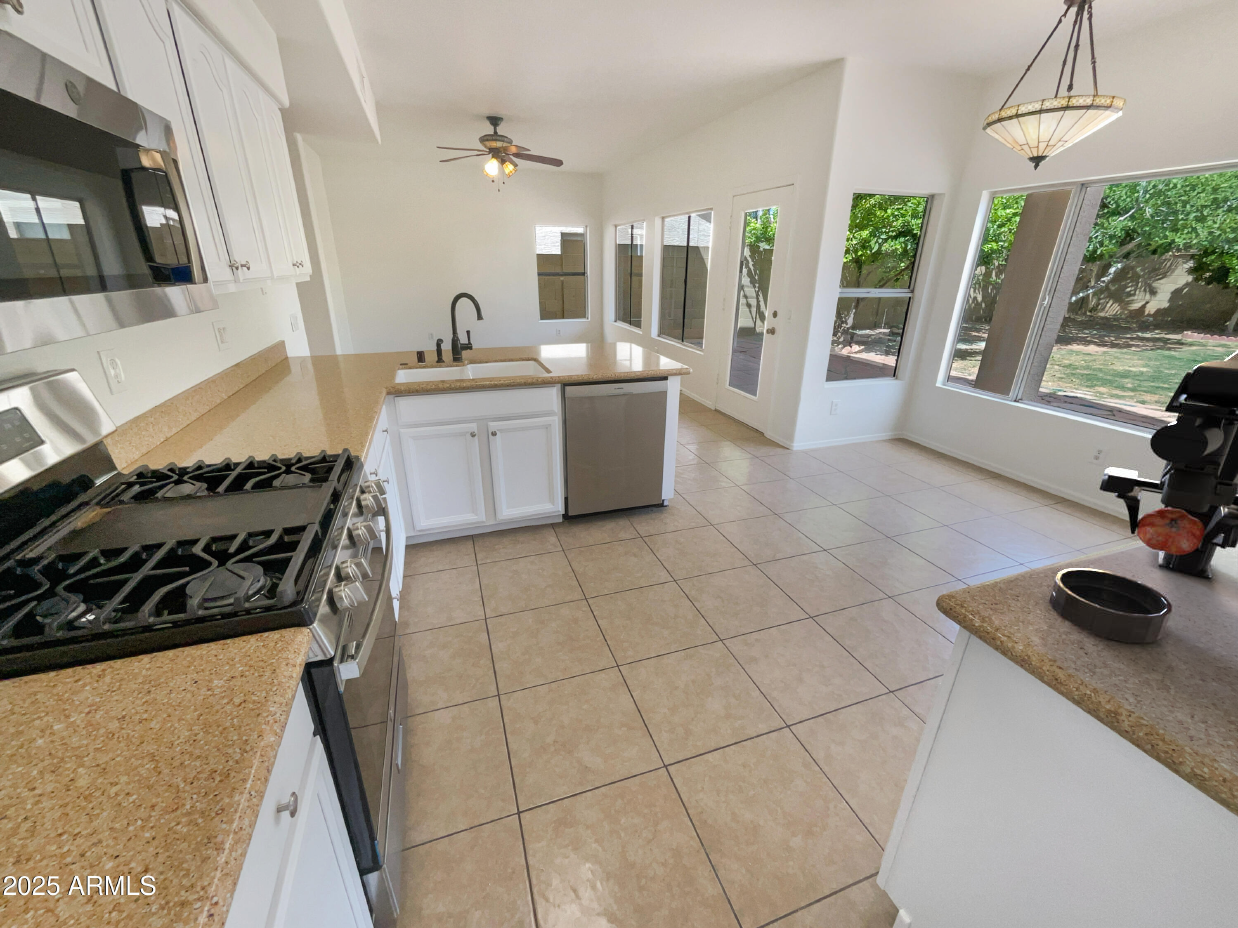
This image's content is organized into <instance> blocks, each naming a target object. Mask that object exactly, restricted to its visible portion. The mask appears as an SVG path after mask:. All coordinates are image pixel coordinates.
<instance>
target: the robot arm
mask: <svg viewBox="0 0 1238 928" xmlns="http://www.w3.org/2000/svg"><path fill="white" fill-rule="evenodd" d="M1183 401H1184V402H1183ZM1164 412H1165V413H1166V412H1167V413H1174V414H1177V417H1176V419H1175V421H1174V422H1171V423H1169V424H1166V425H1164V426H1162V427H1160V428H1158V429H1157V430H1156V431H1155V432H1154V433H1153V434H1152V435H1151V437H1150V442H1149V444H1150V449H1151V451H1152V453H1154V455H1156V457H1158V458H1160V459H1161V460H1162V461H1165V464H1164V467H1163V469H1162V473H1161V476H1160V479H1159V480H1153V479H1147V478H1141V477H1138V475H1139V471H1137V470H1131V469H1125V468H1119V467H1112V466H1111V467H1109V468H1108V467H1107V468H1106V469H1105V470H1104V473H1103V476H1102V479H1101V483H1100V486H1099V490H1100V491H1102V492H1105V493H1109V494H1110V493H1111V494H1115V495H1114V497H1115V498H1116V499H1119V500H1123V503H1124V504H1125V507H1126V510H1127V514H1128V519H1129V520H1128V521H1129V529H1130V534H1131V535H1136V533H1137V532H1136V531H1137V530H1138V529H1137V524H1138V520H1139V516H1140V515H1139V514H1140V508H1141V507H1140V505H1141V499H1142V492H1148V493H1153V494H1159V495H1161V497H1160V503H1161V504H1162V505H1163V508H1170V507H1171V508H1175V509H1181V510H1183V511H1185V512H1186V513H1187V514H1188V515H1190V516H1191V517H1193V518H1196V519H1198V520H1199V521H1200V522H1202V524H1203V525H1204V527H1205V534H1204V537H1203V538H1202V541H1201V543H1200V545H1199V546H1198V547H1197V548H1196V549H1195V550H1193V551H1192V552H1190V553H1187V554H1182V555H1174V554H1170V553H1166V552H1163V551H1159V552H1158V561H1157V566H1158V567H1160V568H1163V569H1167V570H1171V571H1175V572H1179V573H1183V574H1187V575H1191V576H1196V577H1200V578H1202V579H1203V578H1204V579H1208V580H1210V579H1211V580H1212V577H1213V572H1212V561H1213V558H1214V555H1215V553H1216V550H1217V547H1218V548H1220V549H1223V550H1226V549H1227V548H1231V549H1236V547H1237V546H1238V350H1237V351H1236V352H1234V353H1233V354H1232V355H1230V356H1229V357H1227V358H1226V359H1224V360H1217V361H1206V362H1203V363H1200V364H1198V365H1197V366H1195V367H1194V368H1193V369H1192V370H1191V371H1190V370H1189V371H1187V372H1186V373H1185V375H1184V376H1183V377H1182V379H1181V380H1180V383H1179V384H1178V386H1177V388H1176V390H1175V391H1174V393H1173V394H1172V396H1171V397H1170V400H1169V402H1168V403H1167V405H1166V407H1165V409H1164Z"/></svg>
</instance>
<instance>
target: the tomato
mask: <svg viewBox="0 0 1238 928" xmlns="http://www.w3.org/2000/svg"><path fill="white" fill-rule="evenodd" d="M1136 531H1137V532H1136V535H1137V537H1138V539H1139V541H1141V542H1142V543H1143V544H1144V545H1145V546H1147V548H1149V549H1151V550H1155V551H1159V552H1160V551H1162V552H1166V553H1170V554H1174V555H1182V554H1187V553H1190V552H1192V551H1193V550H1195V549H1196V548H1197V547H1198V546H1199V545H1200V543H1201V541H1202V538H1203V537H1204V534H1205V527H1204V525H1203V524H1202V522H1200V521H1199V520H1198V519H1196V518H1193V517H1191V516H1190V515H1188V514H1187V513H1186V512H1185V511H1183V510H1181V509H1175V508H1171V507H1170V508H1164V507H1159V508H1157V509H1154V510H1152V511H1149V512H1146V513H1144V514H1142V515H1140V517H1139V518H1138V524H1137V529H1136Z"/></svg>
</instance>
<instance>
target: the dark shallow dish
mask: <svg viewBox="0 0 1238 928" xmlns="http://www.w3.org/2000/svg"><path fill="white" fill-rule="evenodd" d="M1048 603H1049V604H1050V607H1051V609H1052V610H1053V611H1054V612H1055V613H1056V614H1057V615H1058V616H1059V617H1060V618H1062V619H1064V620H1065V621H1067V622H1068V623H1070V624H1071V625H1073V626H1076V627H1077V628H1080V629H1082V630H1084V631H1085V632H1088V633H1091V634H1094V635H1097V636H1100V637H1103V638H1106V639H1109V640H1115V641H1119V642H1124V643H1133V644H1134V643H1135V644H1146V643H1147V644H1148V643H1153V642H1157V641H1158V640H1159V639H1162V637H1163V636H1164V633H1165V631H1166V629H1167V627H1168V623H1169V620H1170V618H1171V615H1172V613H1173V604H1172V603H1171V602H1170V600H1169V599H1168V598H1167V597H1166V596H1165V595H1164V594H1162V593H1161V592H1160V591H1158V590H1157V589H1155V588H1154V587H1151V586H1149V585H1147V584H1145V583H1143V582H1141V581H1139V580H1136V579H1133V578H1130V577H1127V576H1125V575H1122V574H1117V573H1115V572H1111V571H1106V570H1101V569H1095V568H1082V567H1073V568H1066V569H1063V570H1060V571H1059V572H1057V573H1056V576H1055V579H1054V582H1053V586H1052V589H1051V592H1050V597H1049V599H1048Z"/></svg>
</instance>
